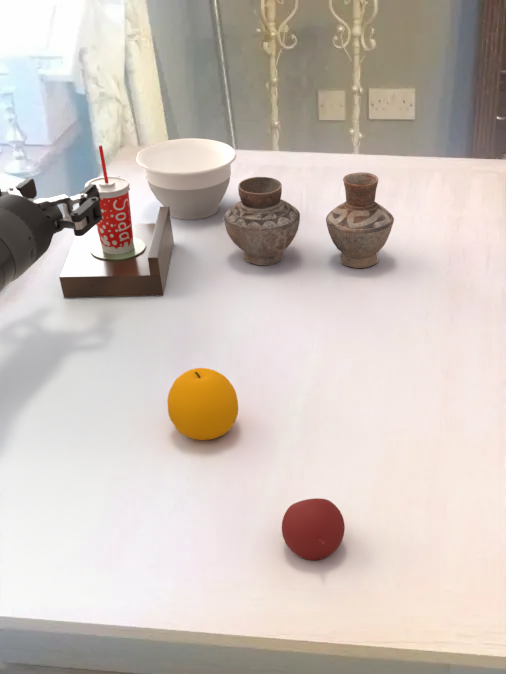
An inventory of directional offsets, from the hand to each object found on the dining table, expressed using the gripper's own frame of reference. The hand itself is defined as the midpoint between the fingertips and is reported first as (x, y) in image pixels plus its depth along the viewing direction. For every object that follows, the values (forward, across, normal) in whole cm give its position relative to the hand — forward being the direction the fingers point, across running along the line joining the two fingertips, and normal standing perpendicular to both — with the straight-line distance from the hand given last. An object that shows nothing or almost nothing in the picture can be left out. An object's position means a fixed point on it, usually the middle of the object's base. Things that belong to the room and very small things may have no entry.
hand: (63, 189), depth 115 cm
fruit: (-45, -44, +15) cm, 64 cm away
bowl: (+35, -4, +16) cm, 38 cm away
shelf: (+11, -1, +15) cm, 19 cm away
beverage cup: (+11, -1, +12) cm, 17 cm away
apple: (-27, -26, +15) cm, 40 cm away
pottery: (+20, -27, +16) cm, 37 cm away
